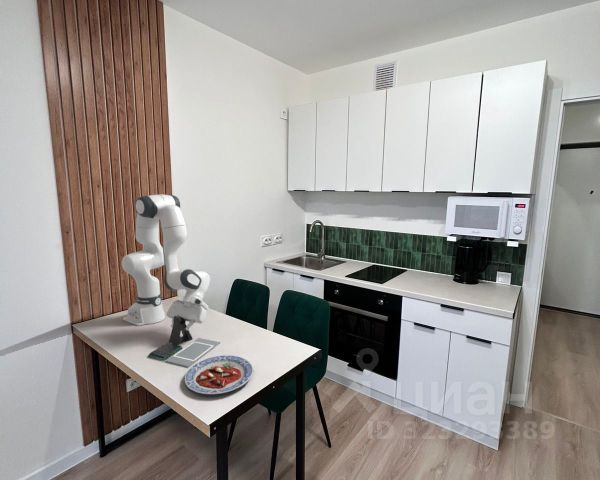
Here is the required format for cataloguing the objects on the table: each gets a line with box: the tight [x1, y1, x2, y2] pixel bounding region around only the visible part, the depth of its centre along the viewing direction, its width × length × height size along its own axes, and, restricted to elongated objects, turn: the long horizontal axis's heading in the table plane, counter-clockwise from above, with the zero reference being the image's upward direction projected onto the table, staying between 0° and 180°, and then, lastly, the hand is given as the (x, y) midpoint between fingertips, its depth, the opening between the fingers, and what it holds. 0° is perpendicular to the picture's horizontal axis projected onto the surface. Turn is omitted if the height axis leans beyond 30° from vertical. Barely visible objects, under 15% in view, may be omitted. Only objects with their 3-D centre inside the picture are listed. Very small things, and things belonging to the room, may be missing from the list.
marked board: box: [164, 337, 221, 369], centre depth 147 cm, size 12×22×1 cm, turn 159°
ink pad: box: [147, 342, 183, 362], centre depth 146 cm, size 9×11×2 cm
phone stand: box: [168, 315, 193, 346], centre depth 156 cm, size 9×6×12 cm, turn 137°
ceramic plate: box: [184, 354, 254, 395], centre depth 128 cm, size 26×26×3 cm
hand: (179, 328), depth 156 cm, fingers closed on phone stand, 6 cm apart
